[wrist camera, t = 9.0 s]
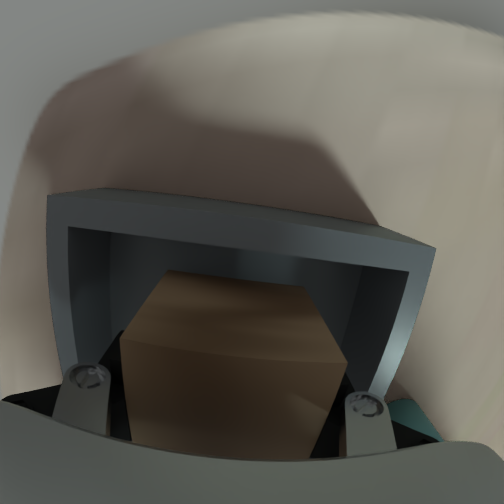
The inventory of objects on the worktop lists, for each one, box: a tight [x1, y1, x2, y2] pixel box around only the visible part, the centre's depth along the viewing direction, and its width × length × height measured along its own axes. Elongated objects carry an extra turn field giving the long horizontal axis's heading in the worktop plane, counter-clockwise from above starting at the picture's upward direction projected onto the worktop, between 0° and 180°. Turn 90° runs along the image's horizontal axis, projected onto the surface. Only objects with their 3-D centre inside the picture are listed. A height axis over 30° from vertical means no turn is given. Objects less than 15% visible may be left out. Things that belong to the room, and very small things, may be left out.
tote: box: [46, 188, 436, 459], centre depth 13 cm, size 18×14×5 cm
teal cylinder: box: [387, 399, 444, 442], centre depth 15 cm, size 5×5×7 cm
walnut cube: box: [120, 270, 348, 459], centre depth 9 cm, size 5×5×5 cm
